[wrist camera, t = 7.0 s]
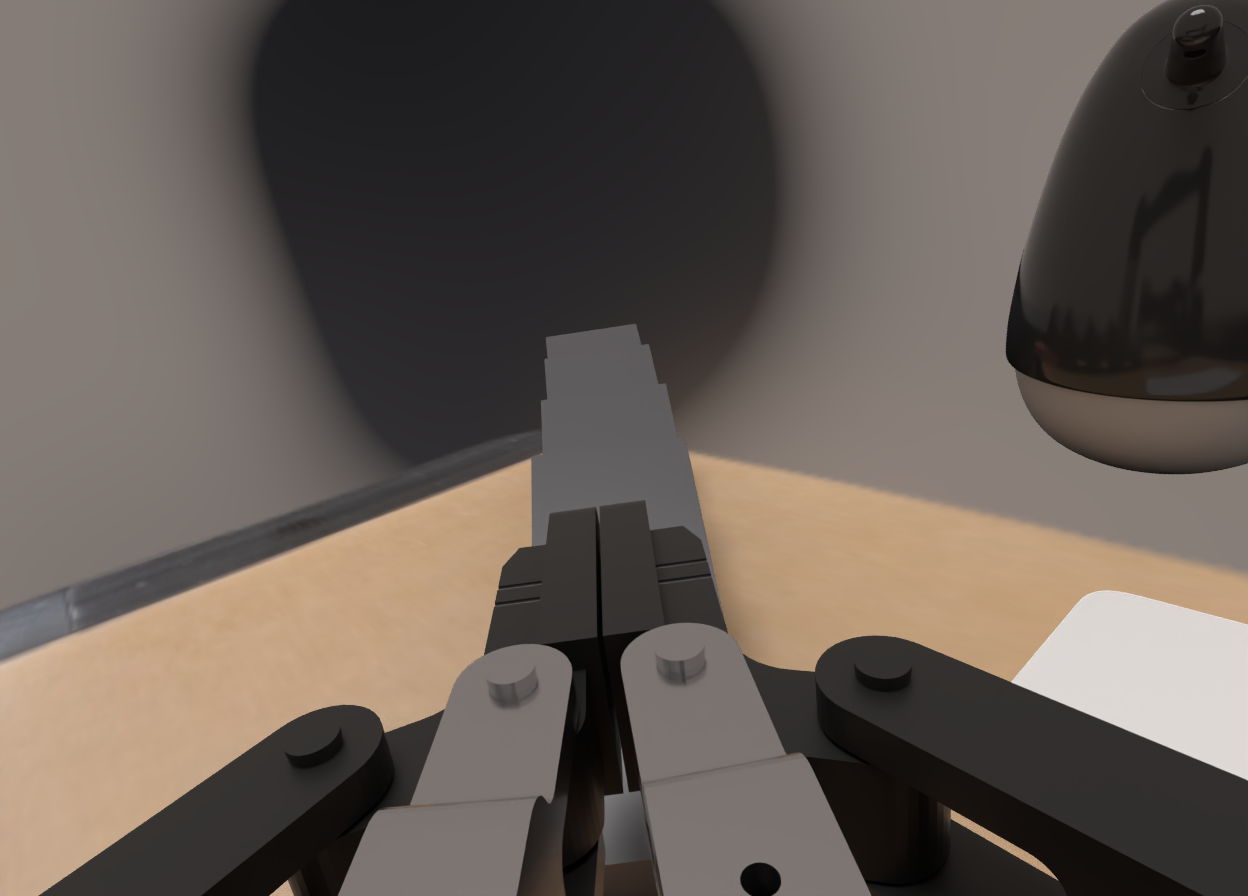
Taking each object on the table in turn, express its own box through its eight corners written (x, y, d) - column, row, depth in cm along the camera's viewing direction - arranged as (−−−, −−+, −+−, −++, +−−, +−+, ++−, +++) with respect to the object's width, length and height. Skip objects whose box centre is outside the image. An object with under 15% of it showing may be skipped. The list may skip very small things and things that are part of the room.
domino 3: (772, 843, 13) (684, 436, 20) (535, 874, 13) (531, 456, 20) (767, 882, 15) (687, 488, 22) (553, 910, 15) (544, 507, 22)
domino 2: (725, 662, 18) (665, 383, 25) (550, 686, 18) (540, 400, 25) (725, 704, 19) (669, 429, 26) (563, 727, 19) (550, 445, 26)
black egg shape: (972, 485, 28) (987, 11, 23) (1028, 394, 36) (1049, 23, 31) (1352, 534, 22) (1492, -87, 17) (1322, 413, 30) (1413, -43, 25)
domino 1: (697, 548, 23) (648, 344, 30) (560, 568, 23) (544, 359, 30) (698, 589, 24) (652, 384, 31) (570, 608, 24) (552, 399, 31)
